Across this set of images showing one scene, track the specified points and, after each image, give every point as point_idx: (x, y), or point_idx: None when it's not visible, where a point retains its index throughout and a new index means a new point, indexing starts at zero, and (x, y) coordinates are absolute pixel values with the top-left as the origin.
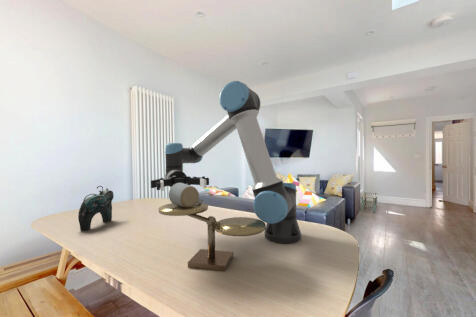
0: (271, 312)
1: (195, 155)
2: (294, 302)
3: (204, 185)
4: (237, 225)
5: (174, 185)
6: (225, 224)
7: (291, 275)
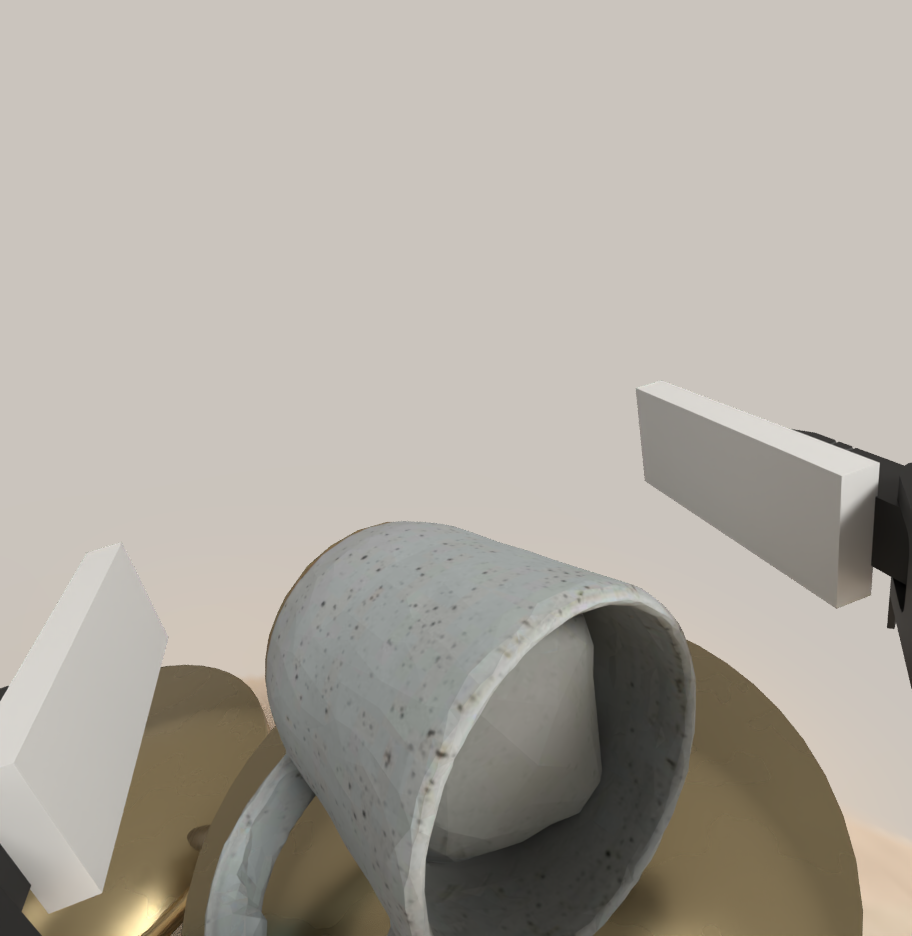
0: (247, 678)
1: None
2: None
3: (150, 609)
4: None
5: (591, 572)
6: (173, 792)
7: None
